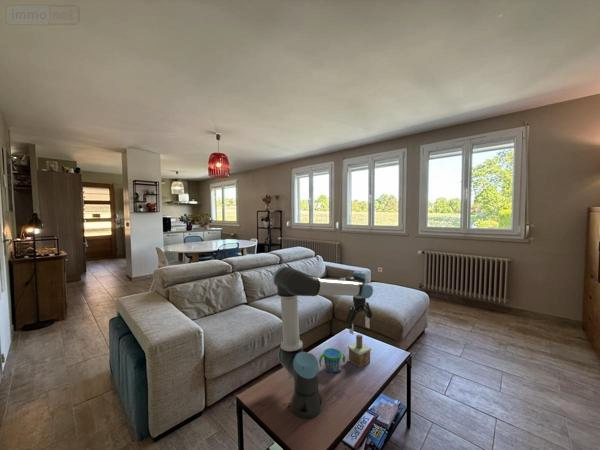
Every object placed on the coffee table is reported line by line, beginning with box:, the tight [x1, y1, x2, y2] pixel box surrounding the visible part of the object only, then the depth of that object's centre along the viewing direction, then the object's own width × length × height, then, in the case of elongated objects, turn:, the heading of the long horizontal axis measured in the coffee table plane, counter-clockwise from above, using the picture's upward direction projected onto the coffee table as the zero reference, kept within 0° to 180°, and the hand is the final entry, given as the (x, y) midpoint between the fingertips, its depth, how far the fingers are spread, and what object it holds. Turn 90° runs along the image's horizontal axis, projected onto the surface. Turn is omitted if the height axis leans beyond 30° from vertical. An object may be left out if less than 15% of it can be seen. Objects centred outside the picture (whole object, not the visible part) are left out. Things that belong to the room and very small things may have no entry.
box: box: [348, 348, 371, 368], centre depth 155 cm, size 9×9×8 cm
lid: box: [347, 334, 372, 355], centre depth 155 cm, size 10×10×8 cm
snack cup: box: [318, 347, 346, 374], centre depth 148 cm, size 16×10×10 cm
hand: (359, 330), depth 155 cm, fingers open, 13 cm apart
